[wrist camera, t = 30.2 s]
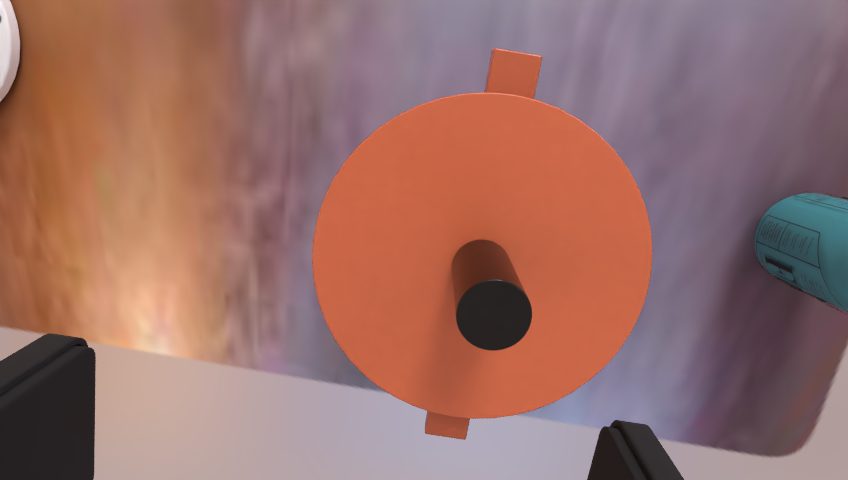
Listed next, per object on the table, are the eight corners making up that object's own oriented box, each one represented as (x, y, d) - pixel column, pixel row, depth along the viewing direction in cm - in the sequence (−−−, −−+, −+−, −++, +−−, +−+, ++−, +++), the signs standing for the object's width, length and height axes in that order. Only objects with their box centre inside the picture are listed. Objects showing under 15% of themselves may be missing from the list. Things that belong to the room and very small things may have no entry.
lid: (301, 382, 31) (258, 470, 24) (337, 66, 27) (299, 53, 19) (601, 428, 31) (652, 529, 24) (682, 123, 27) (775, 131, 20)
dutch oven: (339, 337, 42) (305, 423, 31) (377, 46, 37) (352, 22, 26) (545, 369, 43) (584, 465, 31) (611, 85, 37) (686, 77, 26)
